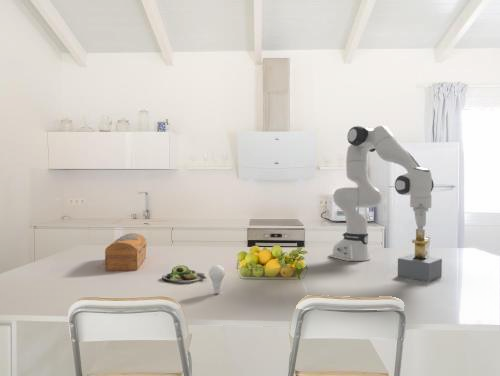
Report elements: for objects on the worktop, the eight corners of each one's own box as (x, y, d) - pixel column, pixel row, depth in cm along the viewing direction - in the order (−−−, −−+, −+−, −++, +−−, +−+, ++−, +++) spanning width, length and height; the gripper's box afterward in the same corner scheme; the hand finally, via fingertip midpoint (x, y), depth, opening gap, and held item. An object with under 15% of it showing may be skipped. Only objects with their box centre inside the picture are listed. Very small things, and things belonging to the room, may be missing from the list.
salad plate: (217, 277, 177) (217, 267, 177) (192, 287, 161) (192, 276, 161) (183, 272, 186) (183, 262, 186) (156, 281, 171) (156, 270, 171)
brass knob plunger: (409, 259, 180) (409, 229, 179) (415, 257, 184) (416, 228, 184) (424, 261, 175) (424, 230, 174) (430, 259, 180) (431, 229, 179)
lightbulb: (209, 291, 154) (209, 263, 154) (224, 291, 155) (224, 263, 155) (208, 296, 148) (208, 267, 148) (225, 295, 149) (225, 266, 149)
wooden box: (116, 258, 216) (116, 233, 216) (147, 258, 218) (147, 232, 217) (101, 271, 186) (101, 242, 186) (137, 271, 188) (137, 242, 187)
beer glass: (431, 269, 193) (432, 238, 192) (416, 268, 194) (417, 238, 193) (428, 266, 199) (429, 236, 199) (413, 265, 201) (414, 236, 200)
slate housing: (397, 275, 180) (397, 258, 180) (411, 270, 190) (411, 254, 189) (429, 281, 170) (429, 263, 170) (441, 276, 180) (441, 258, 179)
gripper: (429, 205, 168) (429, 237, 168) (427, 202, 187) (426, 231, 188) (413, 204, 170) (413, 236, 171) (412, 201, 189) (412, 230, 190)
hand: (420, 234), depth 179 cm, fingers closed on brass knob plunger, 4 cm apart
